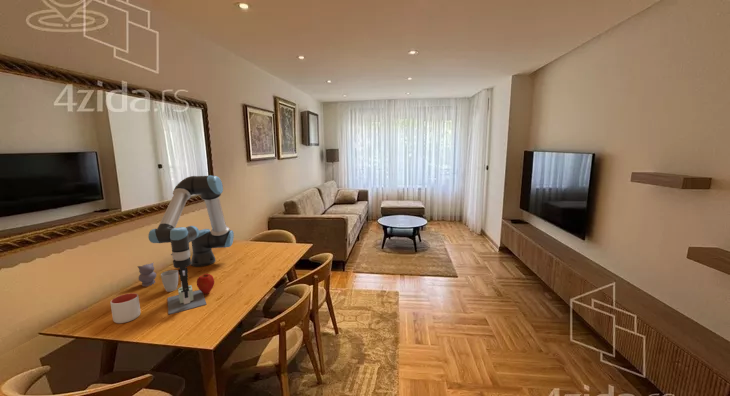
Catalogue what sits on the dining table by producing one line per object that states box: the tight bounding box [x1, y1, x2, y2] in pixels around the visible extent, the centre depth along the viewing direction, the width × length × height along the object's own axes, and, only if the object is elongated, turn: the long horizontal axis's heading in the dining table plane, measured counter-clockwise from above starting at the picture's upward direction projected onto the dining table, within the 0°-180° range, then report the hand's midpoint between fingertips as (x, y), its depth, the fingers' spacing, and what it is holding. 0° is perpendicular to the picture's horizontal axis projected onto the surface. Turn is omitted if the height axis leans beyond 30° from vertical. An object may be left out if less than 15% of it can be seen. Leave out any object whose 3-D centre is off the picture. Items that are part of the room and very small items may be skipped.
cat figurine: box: [137, 262, 157, 287], centre depth 172 cm, size 8×8×12 cm
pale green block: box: [177, 284, 194, 304], centre depth 151 cm, size 6×6×7 cm
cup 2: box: [160, 269, 179, 293], centre depth 165 cm, size 8×8×10 cm
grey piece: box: [167, 289, 207, 316], centre depth 151 cm, size 20×16×5 cm
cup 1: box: [109, 292, 141, 324], centre depth 136 cm, size 10×10×10 cm
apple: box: [196, 273, 215, 295], centre depth 160 cm, size 9×8×11 cm
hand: (186, 298), depth 151 cm, fingers open, 13 cm apart
